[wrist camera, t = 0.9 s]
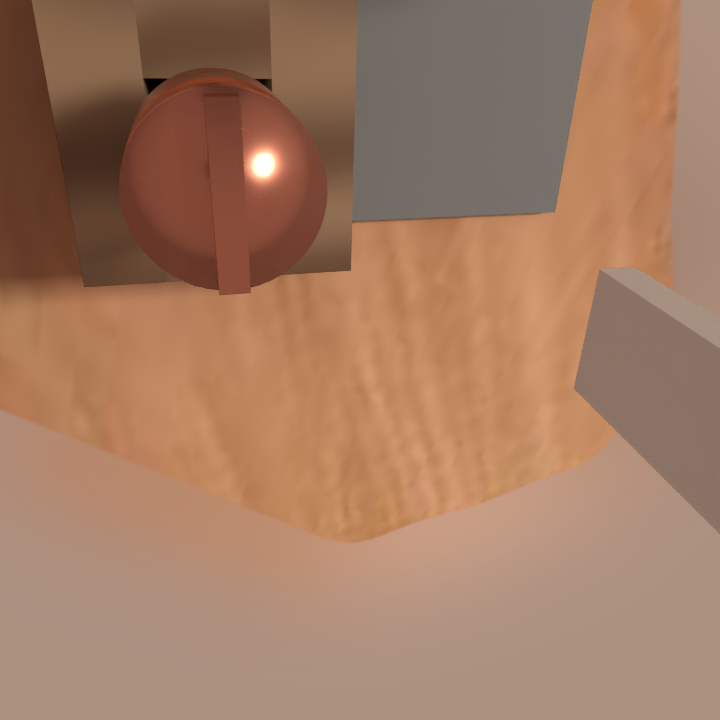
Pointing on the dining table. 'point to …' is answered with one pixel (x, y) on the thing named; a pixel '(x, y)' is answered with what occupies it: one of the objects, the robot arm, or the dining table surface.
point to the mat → (463, 105)
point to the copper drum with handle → (221, 181)
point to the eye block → (176, 55)
